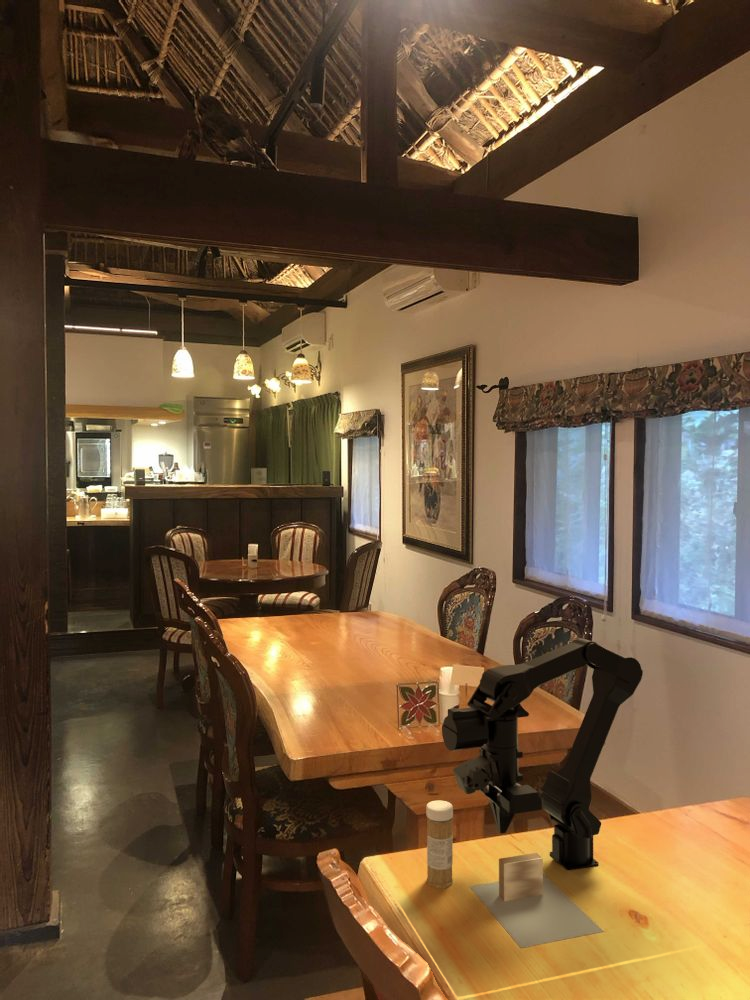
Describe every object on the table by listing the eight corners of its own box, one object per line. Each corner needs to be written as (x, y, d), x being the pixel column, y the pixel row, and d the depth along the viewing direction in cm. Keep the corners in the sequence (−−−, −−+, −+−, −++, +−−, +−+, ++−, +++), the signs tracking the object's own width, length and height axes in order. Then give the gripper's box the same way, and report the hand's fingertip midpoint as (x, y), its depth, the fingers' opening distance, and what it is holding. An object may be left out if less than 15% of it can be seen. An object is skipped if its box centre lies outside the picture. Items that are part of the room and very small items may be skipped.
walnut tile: (536, 888, 123) (536, 852, 123) (542, 894, 121) (542, 858, 121) (499, 895, 121) (498, 858, 121) (504, 901, 119) (504, 864, 119)
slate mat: (543, 875, 128) (543, 873, 128) (603, 933, 111) (603, 931, 111) (469, 888, 124) (469, 886, 124) (520, 949, 106) (520, 947, 106)
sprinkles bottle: (437, 873, 129) (437, 797, 129) (458, 882, 125) (458, 804, 126) (421, 883, 125) (420, 804, 125) (442, 893, 122) (441, 812, 122)
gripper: (438, 731, 134) (439, 816, 134) (482, 766, 117) (483, 864, 116) (493, 726, 138) (494, 809, 138) (544, 759, 120) (545, 854, 120)
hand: (502, 832), depth 128 cm, fingers closed
